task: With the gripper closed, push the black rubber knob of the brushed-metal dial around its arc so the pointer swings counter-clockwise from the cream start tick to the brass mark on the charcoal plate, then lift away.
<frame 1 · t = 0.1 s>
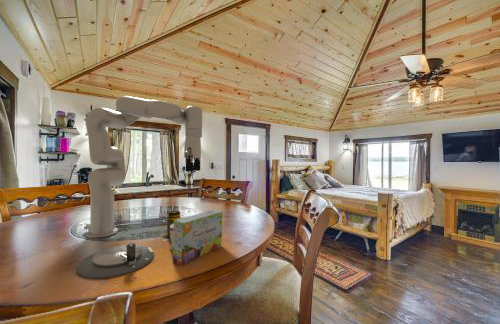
hand: (193, 170, 100), 31 cm above the table, tool pointing down, fingers open, 9 cm apart
condiment: (171, 237, 101), on the table
dial plate: (118, 260, 77), on the table
dial: (120, 249, 76), point 5 cm above the table, hinge at -30.0°
teacup with lid: (179, 249, 89), on the table
snack box: (199, 254, 84), on the table
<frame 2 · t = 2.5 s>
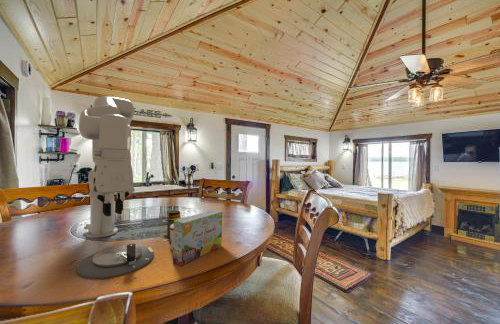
hand: (113, 214, 67), 19 cm above the table, tool pointing down, fingers closed
nothing on the table moved.
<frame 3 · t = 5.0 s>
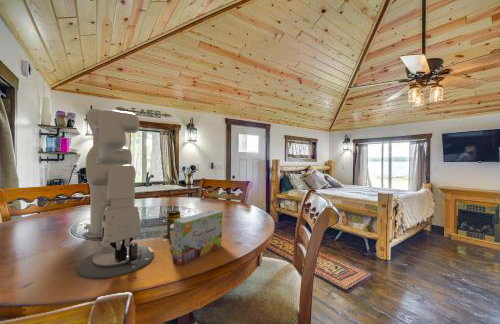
hand: (121, 260, 69), 4 cm above the table, tool pointing down, fingers closed
dial: (120, 248, 77), point 5 cm above the table, hinge at -25.8°, touching gripper
everything else where it was.
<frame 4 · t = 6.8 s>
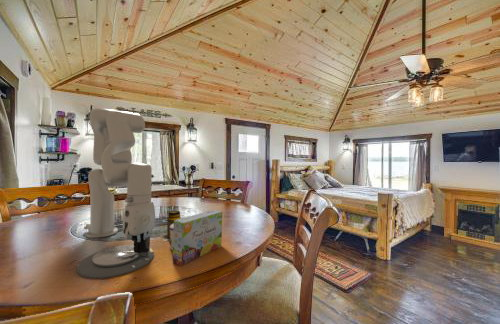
hand: (139, 251, 75), 4 cm above the table, tool pointing down, fingers closed
dial: (122, 247, 78), point 5 cm above the table, hinge at 18.4°, touching gripper
everything else where it was.
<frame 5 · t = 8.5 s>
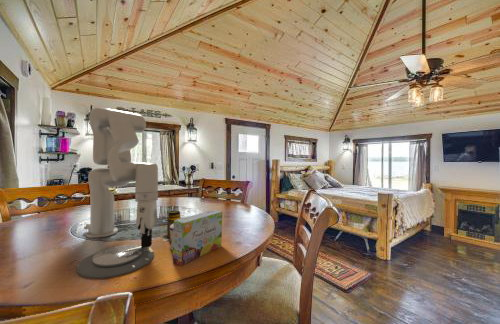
hand: (146, 245, 80), 4 cm above the table, tool pointing down, fingers closed
dial: (123, 246, 78), point 5 cm above the table, hinge at 49.4°
everything else where it was.
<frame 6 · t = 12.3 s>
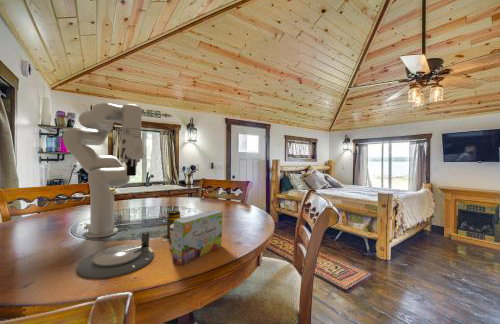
hand: (131, 175, 95), 29 cm above the table, tool pointing down, fingers closed
nothing on the table moved.
at the end: dial at +49° (first picture: -30°) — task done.
